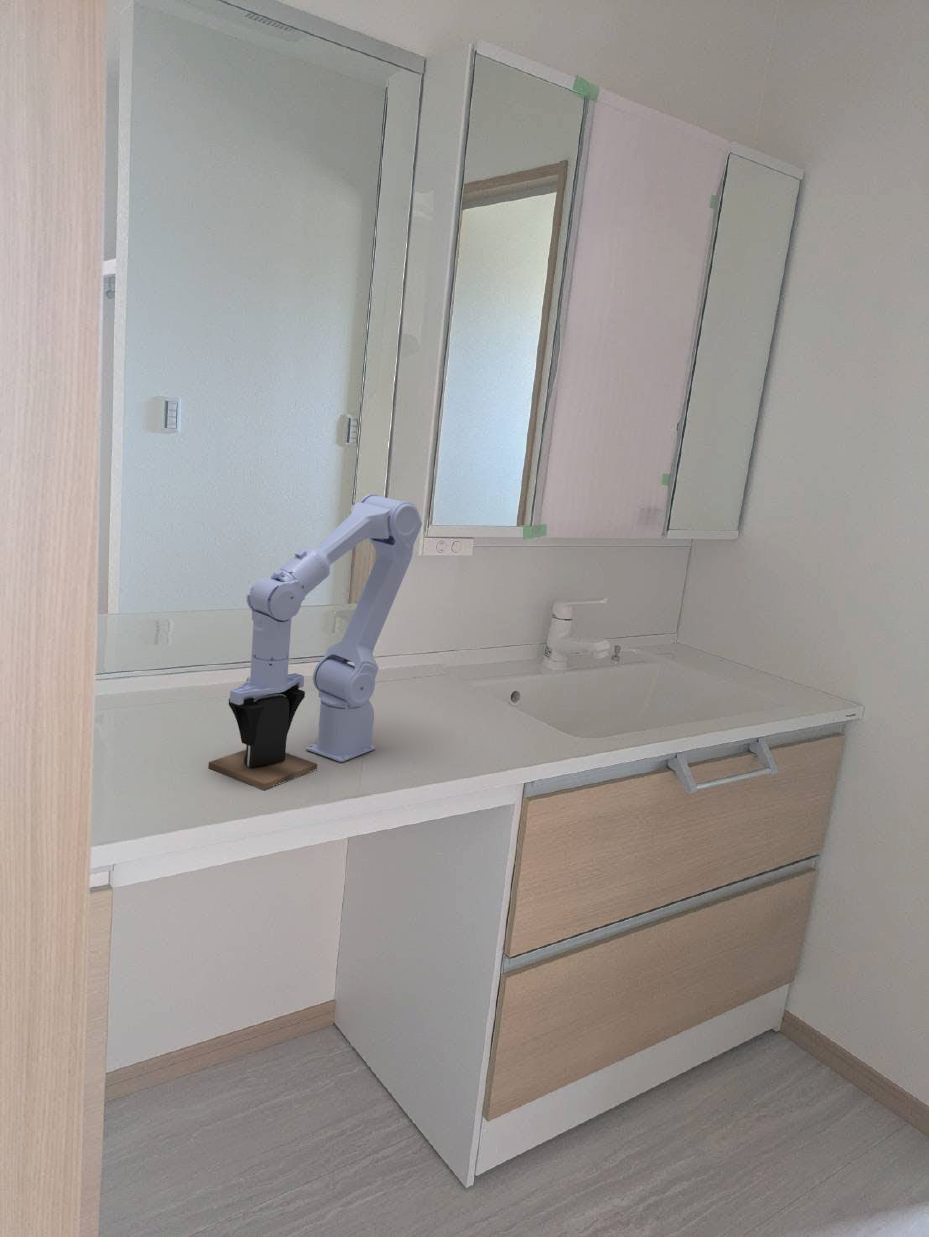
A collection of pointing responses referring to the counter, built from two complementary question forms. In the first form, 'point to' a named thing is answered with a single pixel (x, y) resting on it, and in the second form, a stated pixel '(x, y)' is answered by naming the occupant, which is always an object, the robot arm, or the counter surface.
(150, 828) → the counter surface
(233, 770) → the walnut board
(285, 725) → the battery charger
